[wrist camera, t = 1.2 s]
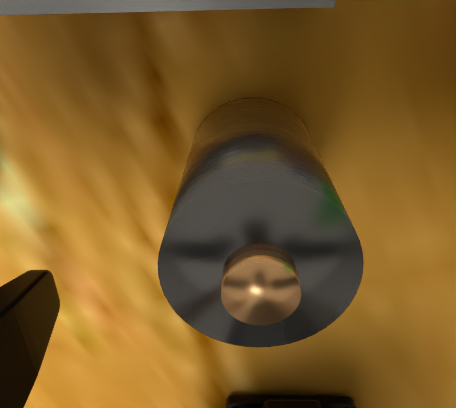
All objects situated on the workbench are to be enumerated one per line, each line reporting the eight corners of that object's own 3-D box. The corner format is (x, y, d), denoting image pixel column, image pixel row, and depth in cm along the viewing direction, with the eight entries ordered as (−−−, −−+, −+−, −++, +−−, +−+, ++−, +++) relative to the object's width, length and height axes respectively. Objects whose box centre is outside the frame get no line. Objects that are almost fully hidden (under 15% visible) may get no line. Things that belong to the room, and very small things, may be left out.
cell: (308, 210, 16) (357, 372, 9) (195, 211, 16) (162, 370, 9) (317, 96, 14) (389, 197, 7) (187, 98, 14) (138, 198, 7)
